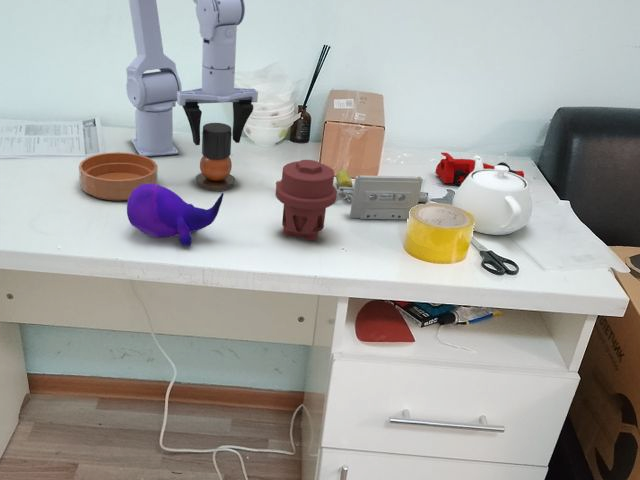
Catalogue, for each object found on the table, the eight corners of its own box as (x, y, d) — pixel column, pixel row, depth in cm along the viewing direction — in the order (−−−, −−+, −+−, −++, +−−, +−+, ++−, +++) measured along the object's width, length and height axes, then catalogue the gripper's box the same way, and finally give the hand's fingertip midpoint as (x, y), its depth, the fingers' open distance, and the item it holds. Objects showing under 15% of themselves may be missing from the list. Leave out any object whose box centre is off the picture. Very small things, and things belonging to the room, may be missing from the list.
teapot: (546, 250, 122) (566, 191, 116) (469, 249, 121) (484, 189, 115) (499, 198, 140) (514, 144, 134) (431, 197, 139) (443, 142, 133)
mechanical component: (300, 216, 128) (343, 236, 122) (260, 231, 122) (303, 253, 116) (307, 148, 121) (353, 166, 115) (265, 160, 115) (311, 180, 109)
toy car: (526, 185, 147) (533, 162, 144) (444, 186, 144) (450, 161, 141) (513, 174, 151) (520, 151, 148) (434, 174, 148) (439, 151, 146)
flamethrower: (273, 178, 140) (276, 201, 132) (274, 165, 139) (277, 187, 131) (419, 187, 143) (430, 210, 135) (422, 174, 141) (434, 197, 133)
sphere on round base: (190, 177, 139) (191, 144, 136) (228, 174, 142) (229, 141, 138) (201, 192, 134) (202, 158, 130) (240, 189, 136) (242, 155, 132)
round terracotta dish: (75, 175, 137) (73, 154, 134) (148, 170, 141) (147, 150, 139) (87, 205, 126) (85, 183, 124) (165, 198, 130) (165, 177, 128)
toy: (219, 235, 122) (133, 216, 122) (228, 182, 116) (137, 163, 116) (210, 259, 115) (119, 239, 115) (219, 204, 109) (122, 183, 109)
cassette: (350, 219, 128) (357, 178, 124) (348, 214, 129) (354, 174, 125) (416, 220, 129) (424, 179, 125) (413, 215, 131) (421, 175, 127)
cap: (199, 149, 135) (199, 123, 132) (225, 148, 137) (226, 122, 134) (206, 160, 131) (207, 133, 129) (233, 158, 133) (235, 131, 130)
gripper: (184, 72, 120) (184, 152, 128) (265, 70, 124) (260, 147, 132) (173, 62, 125) (174, 138, 133) (252, 60, 130) (248, 134, 138)
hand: (216, 142), depth 133 cm, fingers open, 7 cm apart
